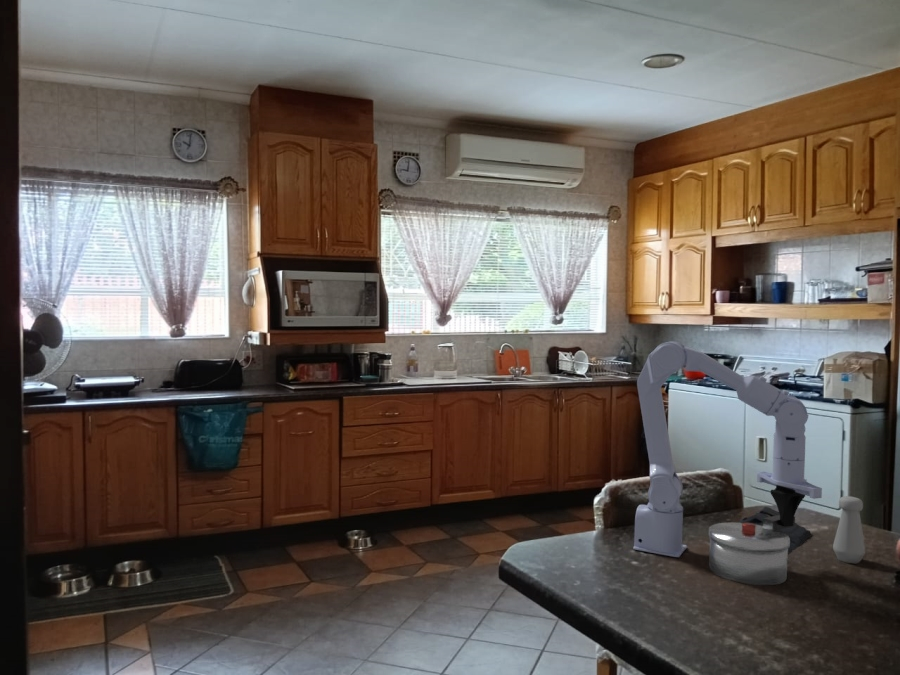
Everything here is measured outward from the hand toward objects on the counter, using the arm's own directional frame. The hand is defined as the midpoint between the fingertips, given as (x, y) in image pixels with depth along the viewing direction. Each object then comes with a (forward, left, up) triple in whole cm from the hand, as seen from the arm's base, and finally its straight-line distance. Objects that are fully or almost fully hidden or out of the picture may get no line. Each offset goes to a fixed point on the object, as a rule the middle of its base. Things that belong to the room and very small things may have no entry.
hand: (786, 525), depth 143 cm
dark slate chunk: (-6, +20, -9) cm, 22 cm away
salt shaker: (+11, +12, -9) cm, 18 cm away
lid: (-5, -5, -2) cm, 7 cm away
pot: (-6, -4, -8) cm, 11 cm away
